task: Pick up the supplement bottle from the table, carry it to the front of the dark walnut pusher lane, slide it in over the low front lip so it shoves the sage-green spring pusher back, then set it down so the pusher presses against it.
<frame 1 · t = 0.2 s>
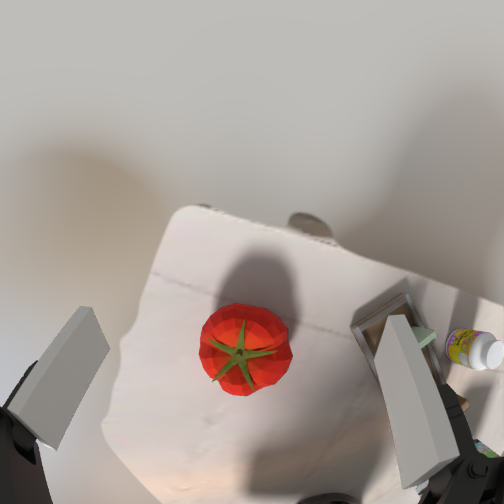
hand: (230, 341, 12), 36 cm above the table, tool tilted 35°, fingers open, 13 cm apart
supplement bottle: (456, 344, 42), on the table
lane: (402, 363, 43), on the table
tomato: (249, 343, 46), on the table
pusher: (408, 355, 38), point 5 cm above the table, slide at 0.0 cm
tea box: (442, 463, 38), on the table
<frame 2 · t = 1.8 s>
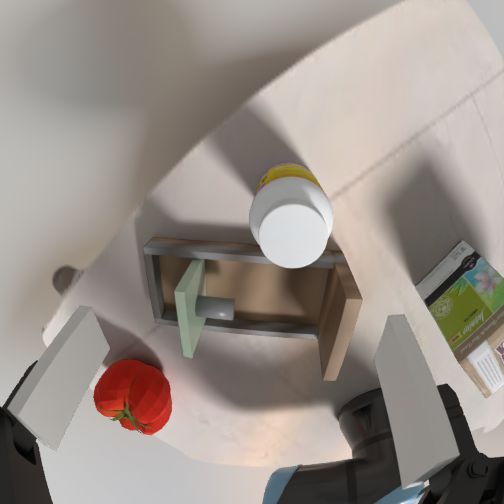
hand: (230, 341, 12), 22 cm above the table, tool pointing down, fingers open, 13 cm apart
supplement bottle: (288, 191, 30), on the table
lane: (243, 284, 36), on the table
tomato: (146, 372, 46), on the table
pusher: (210, 307, 31), point 5 cm above the table, slide at 0.0 cm
tea box: (457, 291, 34), on the table
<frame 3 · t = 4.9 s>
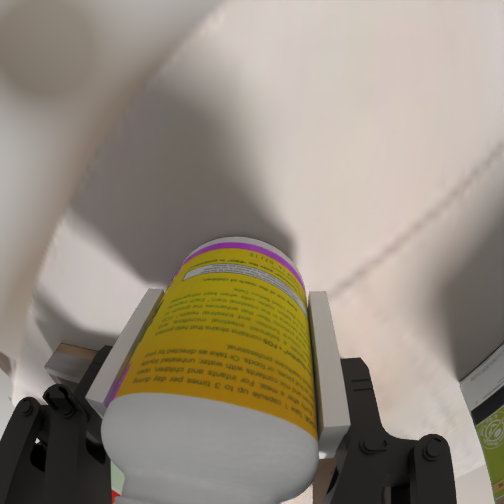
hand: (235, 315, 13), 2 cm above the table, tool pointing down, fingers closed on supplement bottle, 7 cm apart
supplement bottle: (240, 288, 15), on the table, touching gripper
lane: (196, 406, 21), on the table
pusher: (146, 452, 16), point 5 cm above the table, slide at 0.0 cm
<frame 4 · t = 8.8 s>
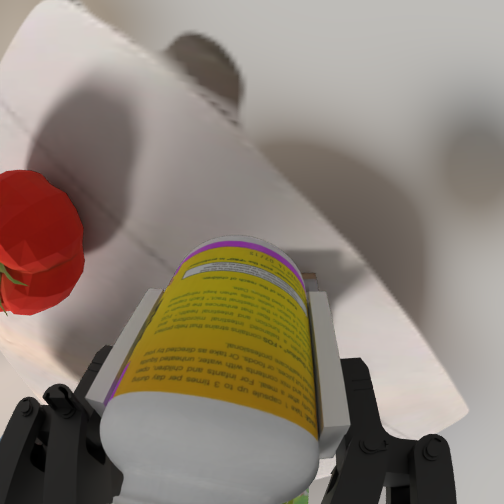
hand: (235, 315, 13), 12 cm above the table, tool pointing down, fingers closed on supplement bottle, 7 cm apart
supplement bottle: (240, 287, 15), point 10 cm above the table, touching gripper
tomato: (56, 220, 26), on the table
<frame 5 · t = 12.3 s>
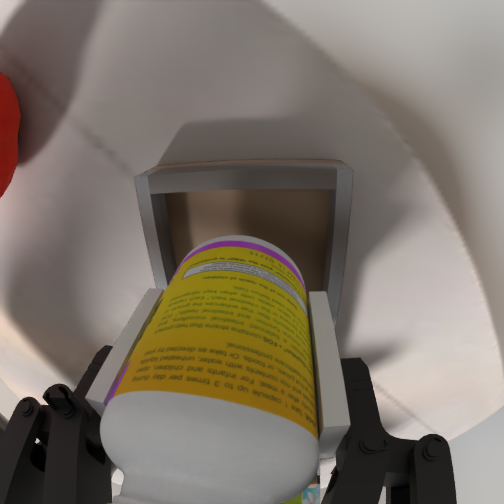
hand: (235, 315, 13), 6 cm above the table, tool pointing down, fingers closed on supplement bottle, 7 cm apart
supplement bottle: (240, 287, 15), point 4 cm above the table, touching gripper
lane: (253, 317, 21), on the table
tomato: (1, 129, 15), on the table
tea box: (264, 460, 36), on the table
when the fingers open (5 cm above the table, at t = 12.9 s): supplement bottle drops 2 cm, resting on lane, pusher.
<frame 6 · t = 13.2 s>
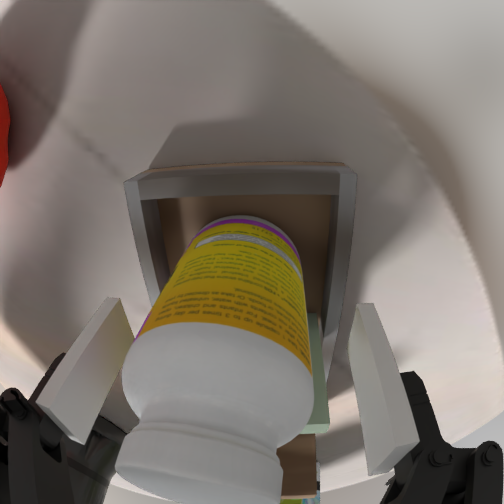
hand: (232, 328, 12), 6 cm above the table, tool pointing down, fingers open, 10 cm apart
supplement bottle: (243, 263, 17), point 1 cm above the table, touching lane, pusher
lane: (250, 326, 20), on the table
pusher: (243, 385, 16), point 5 cm above the table, slide at 3.1 cm, touching supplement bottle
tea box: (263, 466, 35), on the table
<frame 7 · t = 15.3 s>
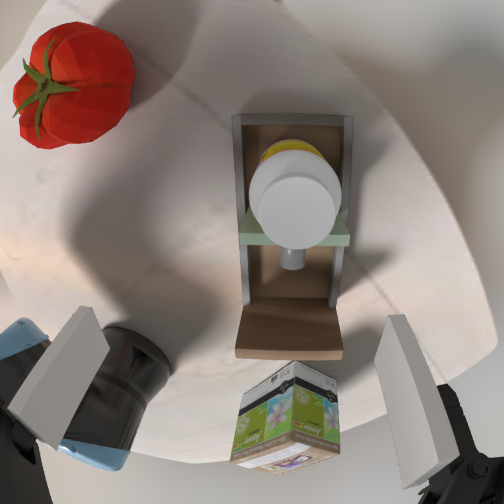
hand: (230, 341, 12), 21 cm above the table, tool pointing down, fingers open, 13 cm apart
supplement bottle: (291, 169, 28), point 1 cm above the table, touching lane, pusher
lane: (292, 218, 31), on the table
tomato: (102, 86, 26), on the table
pusher: (293, 240, 27), point 5 cm above the table, slide at 3.1 cm, touching supplement bottle
tea box: (286, 387, 46), on the table
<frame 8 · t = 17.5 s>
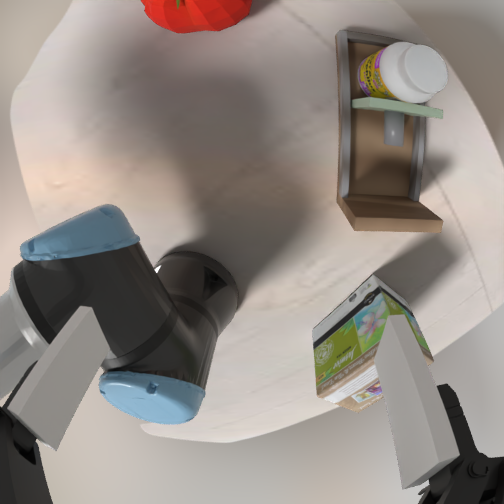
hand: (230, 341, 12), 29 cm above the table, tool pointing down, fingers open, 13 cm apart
supplement bottle: (379, 79, 28), point 1 cm above the table, touching lane, pusher
lane: (378, 121, 32), on the table
tomato: (209, 2, 26), on the table
pusher: (394, 124, 27), point 5 cm above the table, slide at 3.1 cm, touching supplement bottle
tea box: (358, 314, 46), on the table
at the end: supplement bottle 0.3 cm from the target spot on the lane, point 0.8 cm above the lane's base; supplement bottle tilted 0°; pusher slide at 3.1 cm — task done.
